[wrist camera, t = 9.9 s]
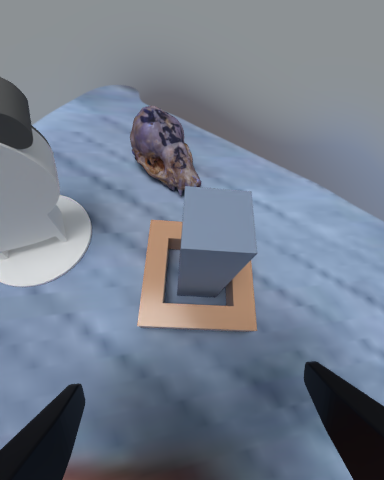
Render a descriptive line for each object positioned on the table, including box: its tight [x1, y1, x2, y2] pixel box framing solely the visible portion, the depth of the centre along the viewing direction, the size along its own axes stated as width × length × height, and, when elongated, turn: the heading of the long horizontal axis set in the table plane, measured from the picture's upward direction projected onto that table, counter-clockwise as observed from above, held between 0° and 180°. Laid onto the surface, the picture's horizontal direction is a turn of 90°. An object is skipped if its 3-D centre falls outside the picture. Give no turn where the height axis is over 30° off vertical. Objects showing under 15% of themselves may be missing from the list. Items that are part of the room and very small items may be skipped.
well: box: [137, 220, 257, 332], centre depth 22 cm, size 10×10×3 cm
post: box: [177, 186, 257, 297], centre depth 18 cm, size 4×4×13 cm
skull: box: [130, 106, 201, 196], centre depth 27 cm, size 12×8×6 cm, turn 27°
